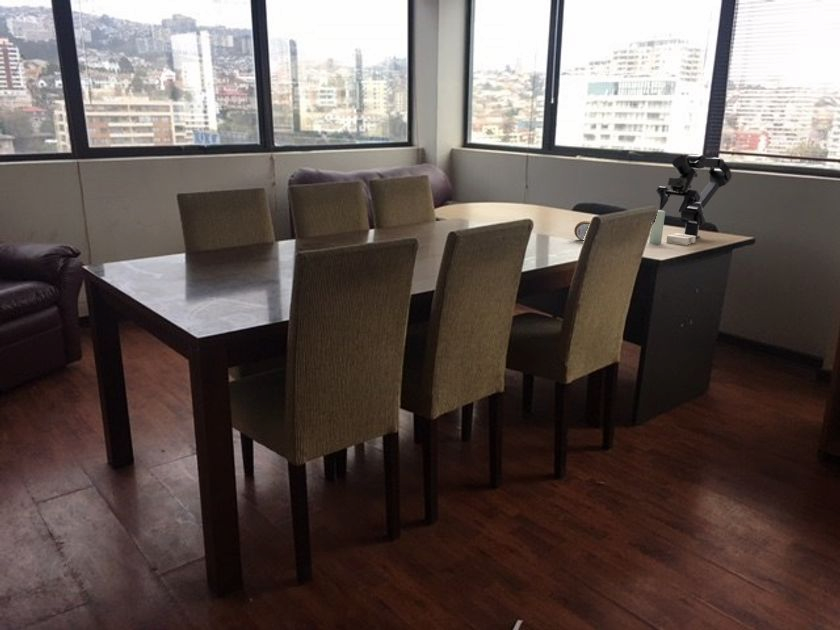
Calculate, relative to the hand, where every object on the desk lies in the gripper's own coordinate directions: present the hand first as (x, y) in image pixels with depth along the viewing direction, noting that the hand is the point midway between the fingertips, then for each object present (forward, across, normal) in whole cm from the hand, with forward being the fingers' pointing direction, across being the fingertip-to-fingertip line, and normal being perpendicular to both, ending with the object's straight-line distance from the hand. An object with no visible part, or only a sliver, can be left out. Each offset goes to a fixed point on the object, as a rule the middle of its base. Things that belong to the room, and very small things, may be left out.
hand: (669, 210), depth 300 cm
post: (+15, -1, +2) cm, 15 cm away
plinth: (+9, +5, +11) cm, 15 cm away
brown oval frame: (+27, -20, -14) cm, 36 cm away
